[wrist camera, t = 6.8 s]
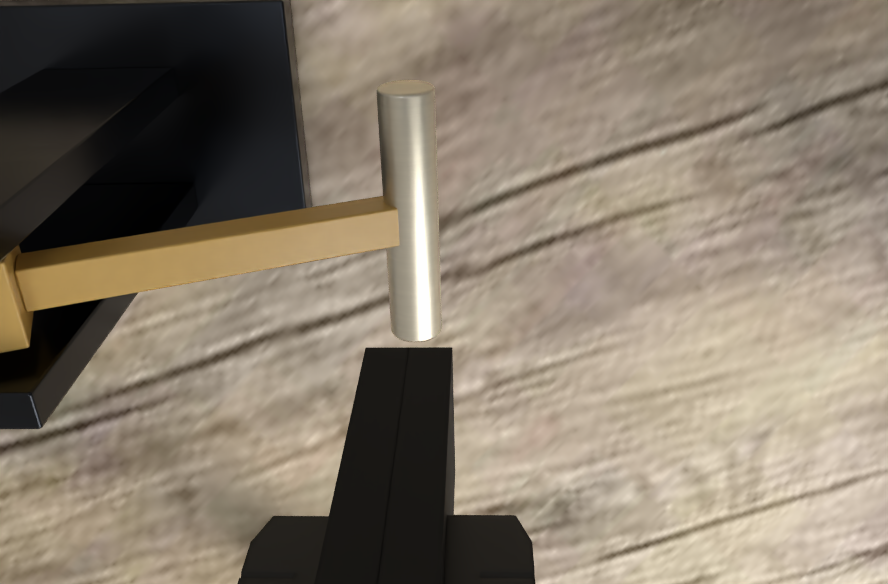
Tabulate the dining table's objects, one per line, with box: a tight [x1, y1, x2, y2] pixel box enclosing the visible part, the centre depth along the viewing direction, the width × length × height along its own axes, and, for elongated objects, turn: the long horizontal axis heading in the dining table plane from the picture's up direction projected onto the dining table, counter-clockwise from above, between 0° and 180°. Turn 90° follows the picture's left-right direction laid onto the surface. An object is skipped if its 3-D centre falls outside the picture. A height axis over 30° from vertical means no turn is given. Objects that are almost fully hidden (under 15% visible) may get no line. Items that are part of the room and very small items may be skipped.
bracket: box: [0, 0, 312, 429], centre depth 24 cm, size 12×9×14 cm
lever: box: [0, 80, 442, 353], centre depth 21 cm, size 13×7×2 cm, turn 91°
